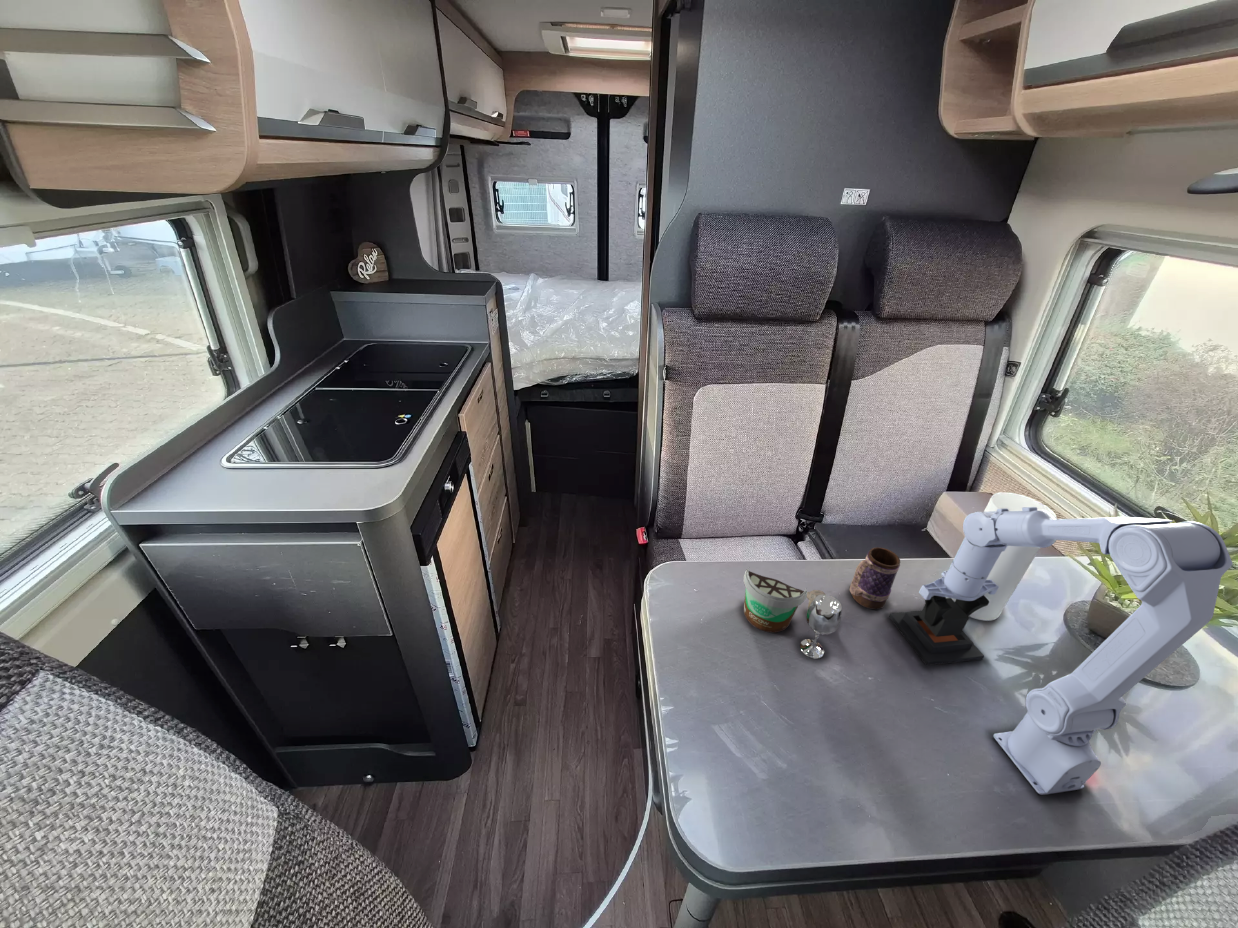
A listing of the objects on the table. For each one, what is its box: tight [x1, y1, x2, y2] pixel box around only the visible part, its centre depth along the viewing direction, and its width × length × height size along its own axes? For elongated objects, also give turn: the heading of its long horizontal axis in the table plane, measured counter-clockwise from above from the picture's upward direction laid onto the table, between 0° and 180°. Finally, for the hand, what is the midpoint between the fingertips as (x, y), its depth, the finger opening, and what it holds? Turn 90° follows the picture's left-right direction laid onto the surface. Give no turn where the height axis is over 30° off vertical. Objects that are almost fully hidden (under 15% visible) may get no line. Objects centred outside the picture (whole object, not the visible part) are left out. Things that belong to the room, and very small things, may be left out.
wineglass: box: [799, 594, 843, 660], centre depth 97 cm, size 6×6×12 cm
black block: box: [919, 598, 970, 637], centre depth 101 cm, size 5×5×5 cm
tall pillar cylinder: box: [946, 491, 1058, 622], centre depth 107 cm, size 11×11×25 cm
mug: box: [849, 546, 901, 610], centre depth 109 cm, size 10×7×12 cm
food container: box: [743, 567, 808, 633], centre depth 102 cm, size 12×6×10 cm, turn 62°
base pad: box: [888, 610, 985, 666], centre depth 103 cm, size 12×12×3 cm
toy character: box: [806, 589, 827, 609], centre depth 106 cm, size 4×8×6 cm, turn 13°
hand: (942, 620), depth 102 cm, fingers closed on black block, 5 cm apart
